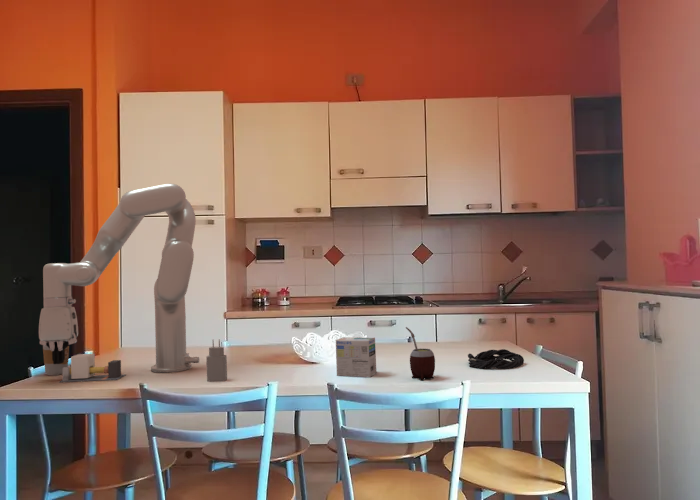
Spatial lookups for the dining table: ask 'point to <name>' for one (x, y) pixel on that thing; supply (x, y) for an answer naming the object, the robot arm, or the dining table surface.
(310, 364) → the dining table surface
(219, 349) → the power adapter
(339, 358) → the light bulb box
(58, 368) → the coffee cup
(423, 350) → the mate gourd
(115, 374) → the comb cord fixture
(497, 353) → the cable
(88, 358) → the marker sleeve
